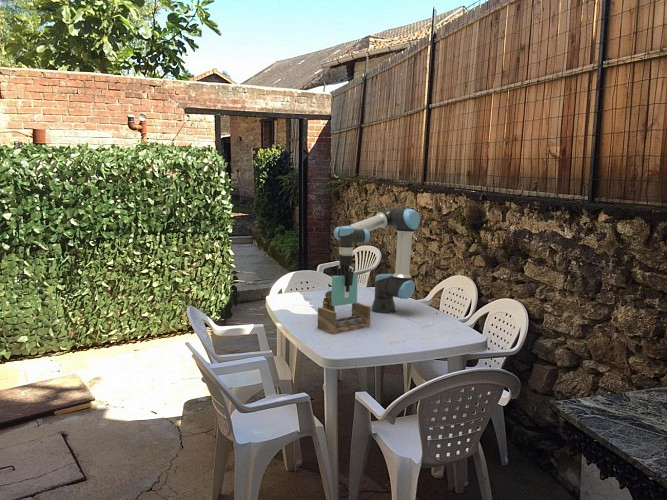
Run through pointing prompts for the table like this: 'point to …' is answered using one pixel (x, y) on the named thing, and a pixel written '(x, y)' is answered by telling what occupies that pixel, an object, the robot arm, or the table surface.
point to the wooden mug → (328, 301)
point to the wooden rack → (344, 319)
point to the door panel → (338, 291)
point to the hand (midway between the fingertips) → (344, 296)
